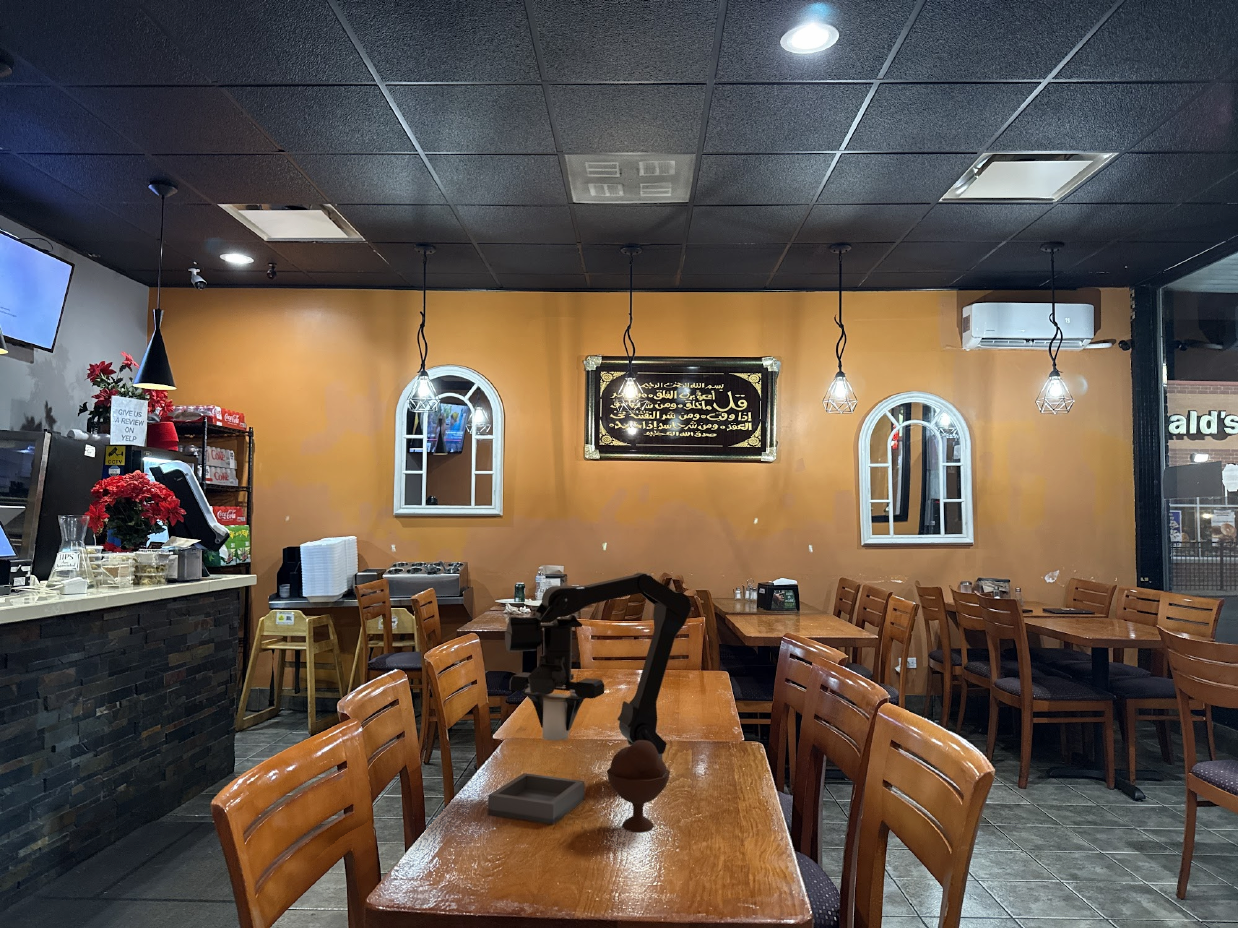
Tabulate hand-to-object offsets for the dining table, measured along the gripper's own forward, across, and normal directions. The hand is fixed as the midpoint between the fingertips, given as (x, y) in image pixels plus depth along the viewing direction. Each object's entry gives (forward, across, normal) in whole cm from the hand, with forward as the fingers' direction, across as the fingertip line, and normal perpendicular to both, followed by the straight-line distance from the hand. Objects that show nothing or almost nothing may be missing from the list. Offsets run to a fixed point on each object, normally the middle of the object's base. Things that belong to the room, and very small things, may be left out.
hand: (555, 728), depth 162 cm
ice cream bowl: (+12, +22, -12) cm, 28 cm away
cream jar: (+2, 0, 0) cm, 2 cm away
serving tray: (+12, +2, -10) cm, 16 cm away
